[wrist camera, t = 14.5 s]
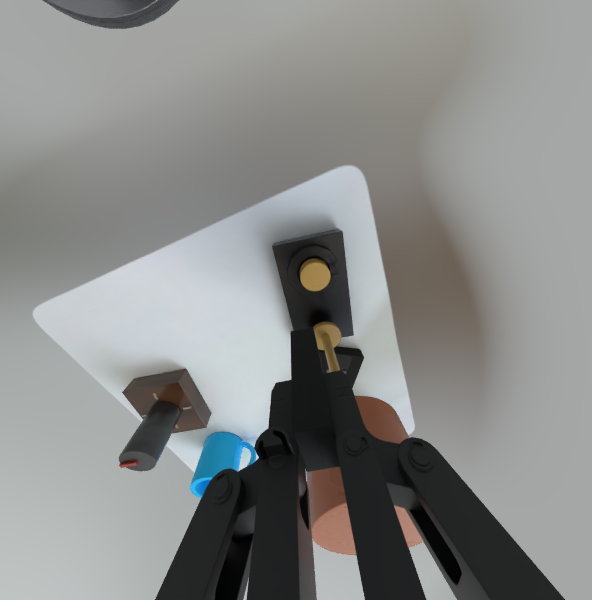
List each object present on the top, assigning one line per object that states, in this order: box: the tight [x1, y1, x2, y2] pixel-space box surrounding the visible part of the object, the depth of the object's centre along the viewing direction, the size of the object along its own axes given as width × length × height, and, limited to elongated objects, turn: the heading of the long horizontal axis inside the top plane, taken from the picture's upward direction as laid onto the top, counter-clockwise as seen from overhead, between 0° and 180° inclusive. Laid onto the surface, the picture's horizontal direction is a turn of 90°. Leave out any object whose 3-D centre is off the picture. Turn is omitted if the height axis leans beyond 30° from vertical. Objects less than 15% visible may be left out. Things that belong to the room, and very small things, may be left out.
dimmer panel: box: [122, 369, 211, 433], centre depth 39 cm, size 12×10×3 cm
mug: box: [190, 432, 256, 498], centre depth 43 cm, size 12×8×8 cm
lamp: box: [307, 322, 424, 555], centre depth 21 cm, size 8×8×20 cm
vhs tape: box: [318, 347, 364, 388], centre depth 39 cm, size 8×14×2 cm, turn 170°
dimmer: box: [119, 402, 181, 471], centre depth 34 cm, size 5×5×8 cm
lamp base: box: [272, 229, 354, 338], centre depth 30 cm, size 16×9×4 cm, turn 12°
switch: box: [300, 258, 330, 291], centre depth 26 cm, size 4×4×2 cm
